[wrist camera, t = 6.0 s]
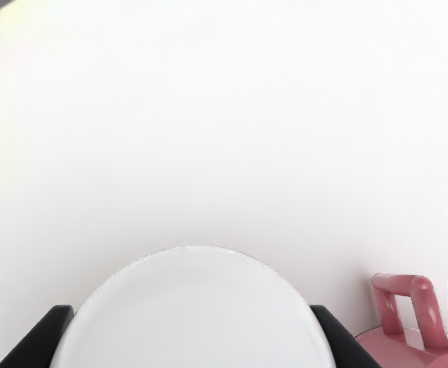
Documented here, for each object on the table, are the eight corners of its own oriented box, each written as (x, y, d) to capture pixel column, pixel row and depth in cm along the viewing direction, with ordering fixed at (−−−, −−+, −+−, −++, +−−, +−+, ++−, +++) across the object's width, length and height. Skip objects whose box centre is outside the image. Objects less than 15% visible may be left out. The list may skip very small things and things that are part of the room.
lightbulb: (107, 263, 16) (-30, 257, 5) (244, 247, 17) (370, 216, 6) (114, 419, 14) (-56, 871, 4) (262, 392, 15) (467, 680, 5)
